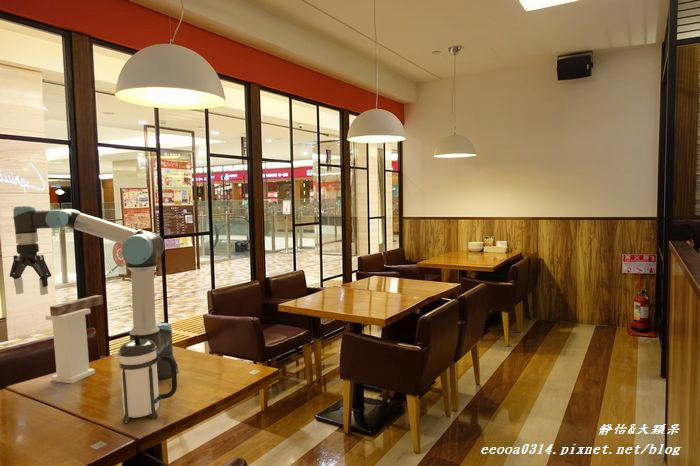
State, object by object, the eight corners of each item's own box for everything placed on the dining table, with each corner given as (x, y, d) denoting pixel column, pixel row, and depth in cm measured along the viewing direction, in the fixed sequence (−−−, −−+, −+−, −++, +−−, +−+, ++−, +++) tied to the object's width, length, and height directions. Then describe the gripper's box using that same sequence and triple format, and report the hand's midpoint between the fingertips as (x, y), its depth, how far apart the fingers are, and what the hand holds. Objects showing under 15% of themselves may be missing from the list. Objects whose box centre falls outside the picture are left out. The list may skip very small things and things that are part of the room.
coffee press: (137, 429, 158) (131, 343, 155) (110, 418, 166) (104, 337, 164) (179, 409, 172) (175, 330, 170) (153, 400, 181) (148, 325, 179)
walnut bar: (57, 316, 199) (56, 307, 199) (50, 315, 200) (49, 306, 200) (103, 303, 222) (102, 295, 221) (96, 303, 223) (96, 295, 223)
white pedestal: (69, 384, 200) (64, 316, 198) (49, 381, 204) (43, 315, 202) (96, 372, 213) (91, 308, 211) (77, 370, 217) (72, 307, 215)
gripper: (-4, 244, 190) (1, 295, 192) (41, 244, 183) (46, 296, 184) (14, 242, 197) (18, 291, 199) (58, 242, 190) (62, 292, 191)
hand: (31, 294), depth 192 cm, fingers open, 13 cm apart
